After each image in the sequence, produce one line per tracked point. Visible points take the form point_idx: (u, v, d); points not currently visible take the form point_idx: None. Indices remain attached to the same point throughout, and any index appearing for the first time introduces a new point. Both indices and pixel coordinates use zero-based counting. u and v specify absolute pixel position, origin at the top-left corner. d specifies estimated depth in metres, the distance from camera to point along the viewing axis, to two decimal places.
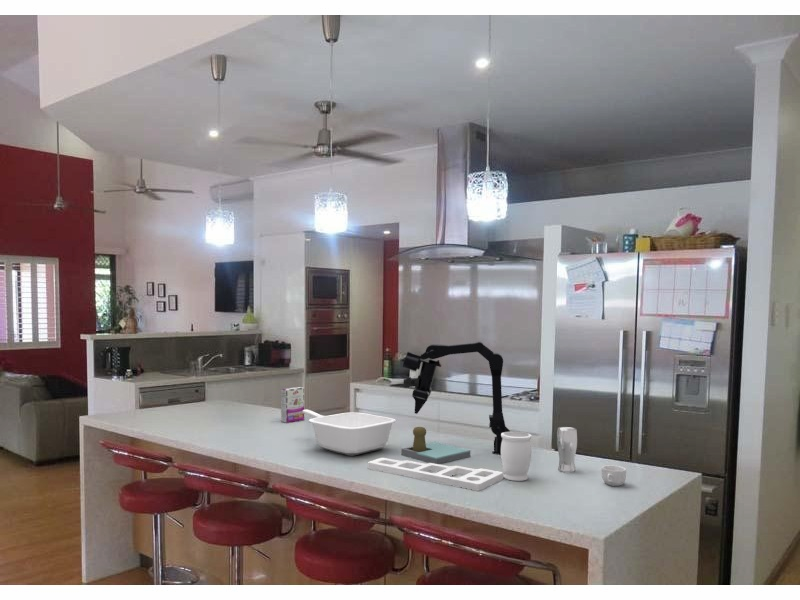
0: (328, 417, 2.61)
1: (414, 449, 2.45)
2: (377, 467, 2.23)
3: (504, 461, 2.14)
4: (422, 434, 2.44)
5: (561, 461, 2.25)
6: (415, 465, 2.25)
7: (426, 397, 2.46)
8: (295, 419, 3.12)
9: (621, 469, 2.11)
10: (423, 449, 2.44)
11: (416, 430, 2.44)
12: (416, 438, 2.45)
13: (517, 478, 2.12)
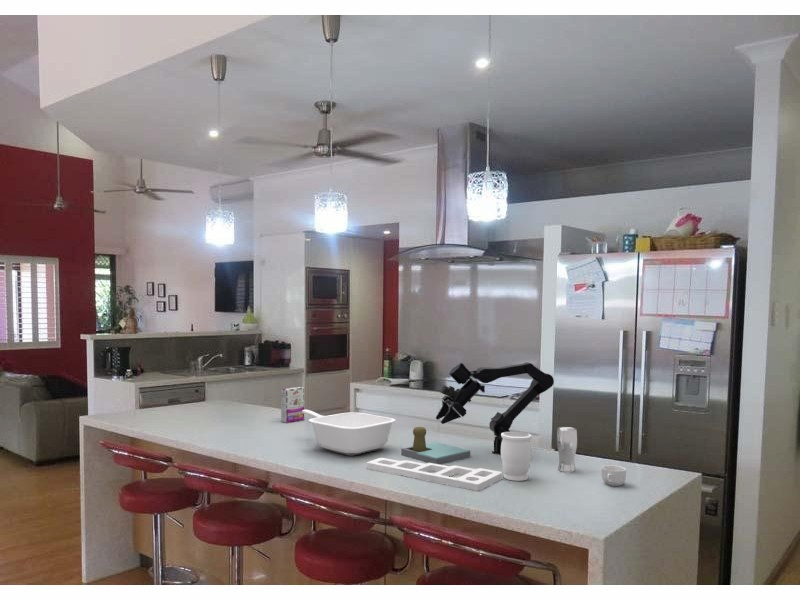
0: (328, 417, 2.61)
1: (414, 449, 2.45)
2: (376, 467, 2.23)
3: (504, 461, 2.14)
4: (422, 434, 2.44)
5: (561, 461, 2.25)
6: (414, 465, 2.25)
7: (463, 414, 2.40)
8: (295, 419, 3.12)
9: (621, 469, 2.11)
10: (423, 449, 2.44)
11: (416, 430, 2.44)
12: (416, 438, 2.45)
13: (517, 478, 2.12)
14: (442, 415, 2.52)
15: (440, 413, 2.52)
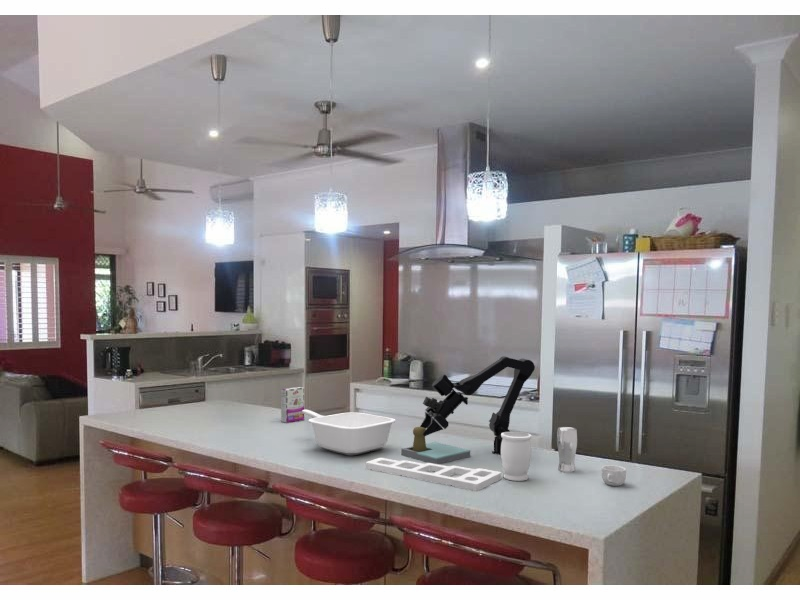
0: (328, 417, 2.61)
1: (414, 449, 2.45)
2: (376, 467, 2.23)
3: (504, 461, 2.14)
4: (422, 434, 2.44)
5: (561, 461, 2.25)
6: (413, 465, 2.25)
7: (445, 427, 2.39)
8: (295, 419, 3.12)
9: (621, 469, 2.11)
10: (423, 449, 2.44)
11: (416, 430, 2.44)
12: (416, 438, 2.45)
13: (517, 478, 2.12)
14: (425, 427, 2.51)
15: (423, 425, 2.51)
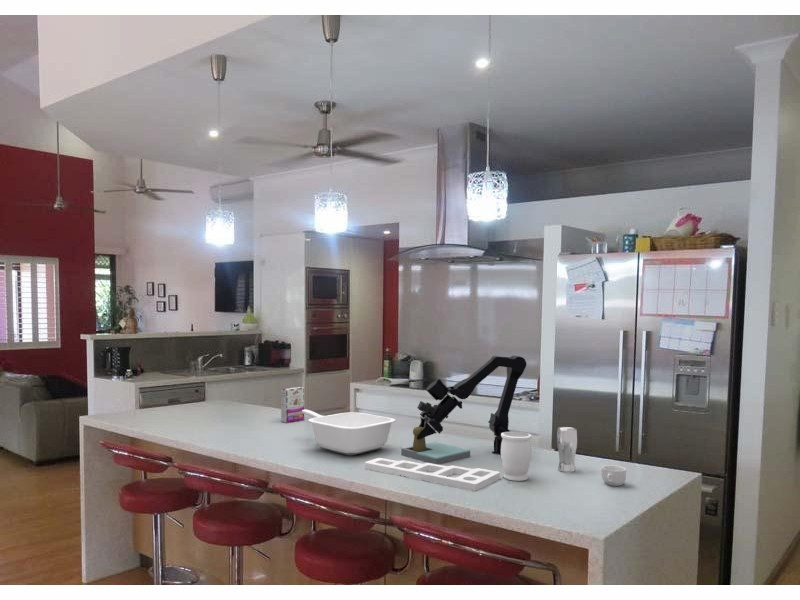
0: (327, 417, 2.62)
1: (414, 449, 2.45)
2: (374, 467, 2.23)
3: (504, 461, 2.14)
4: None
5: (561, 461, 2.25)
6: (412, 465, 2.25)
7: (440, 431, 2.38)
8: (295, 419, 3.12)
9: (621, 469, 2.11)
10: (423, 449, 2.44)
11: (416, 430, 2.44)
12: (416, 438, 2.45)
13: (517, 478, 2.12)
14: None
15: None
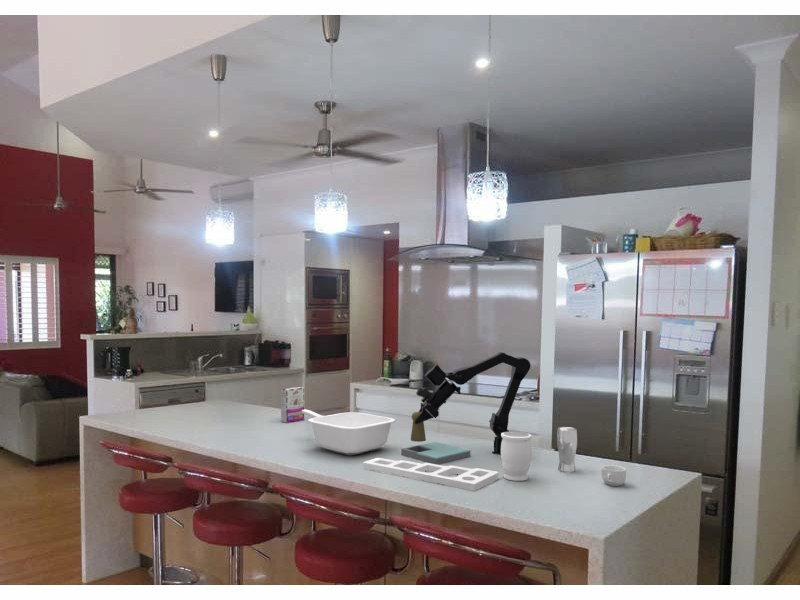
0: (327, 417, 2.62)
1: (412, 433, 2.49)
2: (373, 467, 2.23)
3: (504, 461, 2.14)
4: None
5: (561, 461, 2.25)
6: (411, 465, 2.25)
7: (436, 416, 2.41)
8: (295, 419, 3.12)
9: (621, 469, 2.11)
10: (421, 434, 2.48)
11: (414, 415, 2.48)
12: (414, 423, 2.49)
13: (517, 478, 2.12)
14: None
15: None
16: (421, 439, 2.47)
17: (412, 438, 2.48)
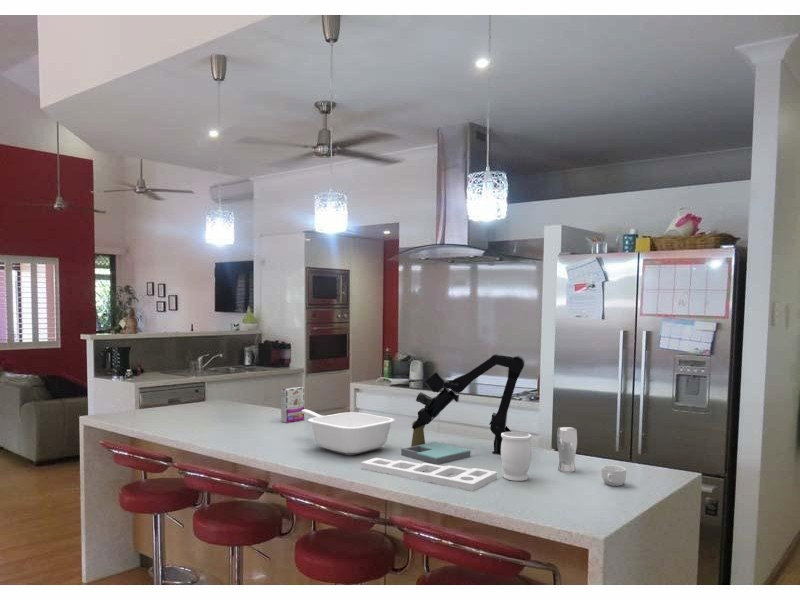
0: (327, 417, 2.62)
1: (412, 441, 2.59)
2: (371, 467, 2.23)
3: (504, 461, 2.14)
4: None
5: (561, 461, 2.25)
6: (409, 465, 2.25)
7: (428, 422, 2.49)
8: (295, 419, 3.12)
9: (621, 469, 2.11)
10: (419, 442, 2.57)
11: (413, 423, 2.58)
12: (414, 431, 2.59)
13: (517, 478, 2.12)
14: None
15: None
16: None
17: (411, 445, 2.59)
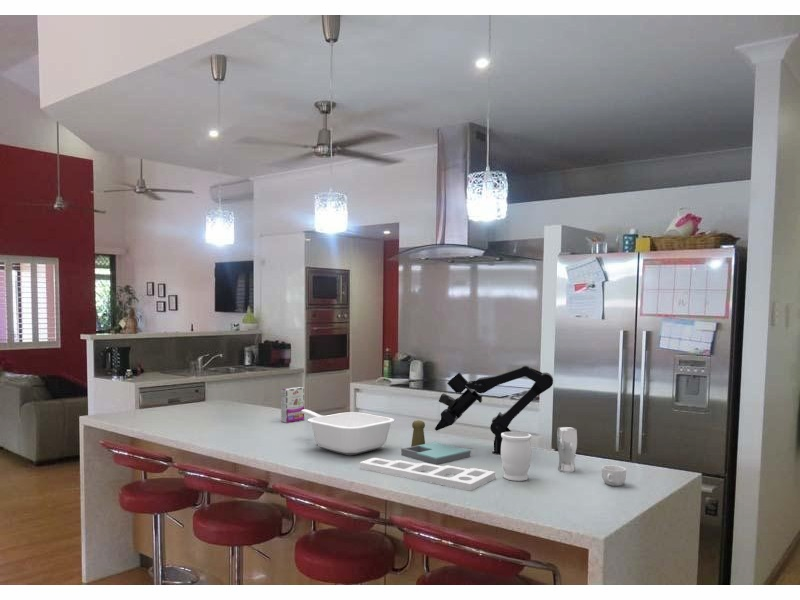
0: (327, 417, 2.62)
1: (412, 441, 2.59)
2: (370, 467, 2.23)
3: (504, 461, 2.14)
4: (418, 427, 2.57)
5: (561, 461, 2.25)
6: (407, 465, 2.25)
7: (452, 422, 2.47)
8: (295, 419, 3.12)
9: (621, 469, 2.11)
10: (419, 442, 2.57)
11: (413, 423, 2.58)
12: (414, 431, 2.59)
13: (517, 478, 2.12)
14: None
15: None
16: None
17: (411, 445, 2.59)
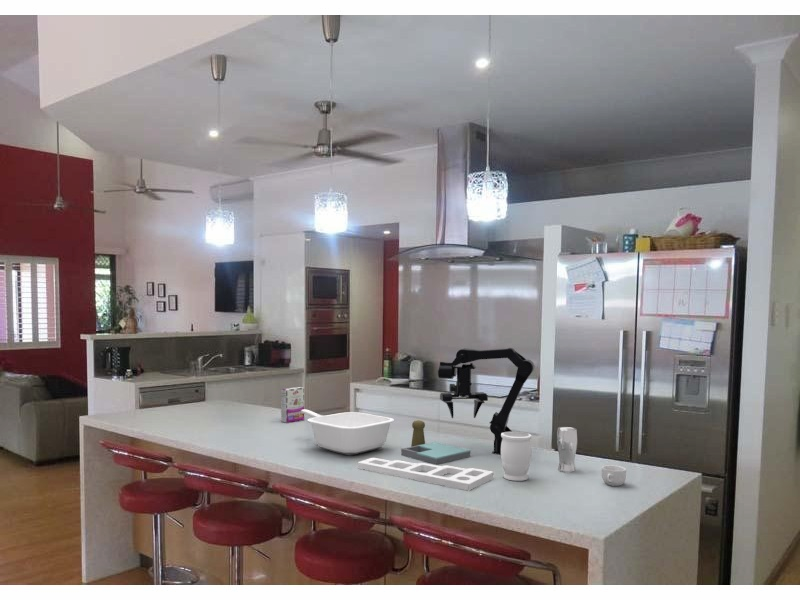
0: (327, 417, 2.62)
1: (412, 441, 2.59)
2: (368, 467, 2.23)
3: (504, 461, 2.14)
4: (418, 427, 2.57)
5: (561, 461, 2.25)
6: (405, 465, 2.25)
7: (443, 399, 2.52)
8: (295, 419, 3.12)
9: (621, 469, 2.11)
10: (419, 442, 2.57)
11: (413, 423, 2.58)
12: (414, 431, 2.59)
13: (517, 478, 2.12)
14: (474, 411, 2.56)
15: (474, 411, 2.57)
16: None
17: (411, 445, 2.59)
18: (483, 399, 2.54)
